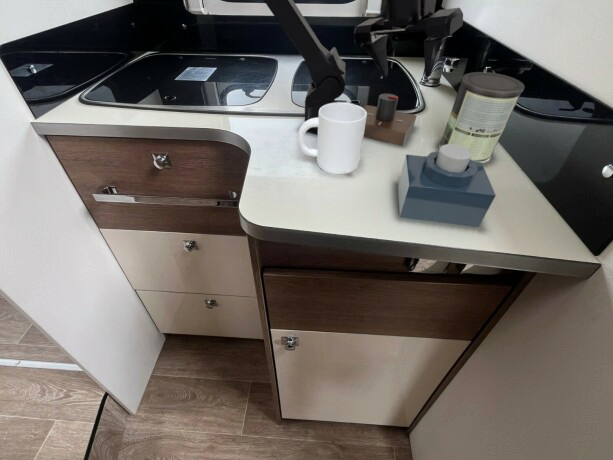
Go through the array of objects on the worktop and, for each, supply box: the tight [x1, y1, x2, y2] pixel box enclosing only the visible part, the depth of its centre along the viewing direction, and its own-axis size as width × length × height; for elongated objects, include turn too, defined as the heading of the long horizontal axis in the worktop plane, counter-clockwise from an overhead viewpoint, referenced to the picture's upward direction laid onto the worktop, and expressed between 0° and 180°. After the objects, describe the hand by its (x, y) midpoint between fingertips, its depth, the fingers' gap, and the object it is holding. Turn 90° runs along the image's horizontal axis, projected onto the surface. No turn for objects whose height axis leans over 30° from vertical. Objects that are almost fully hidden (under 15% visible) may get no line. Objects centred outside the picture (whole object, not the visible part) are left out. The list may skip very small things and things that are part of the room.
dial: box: [376, 93, 399, 122], centre depth 68 cm, size 4×4×5 cm
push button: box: [436, 144, 472, 173], centre depth 47 cm, size 4×4×2 cm
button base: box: [397, 150, 496, 228], centre depth 50 cm, size 12×9×8 cm
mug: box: [296, 102, 367, 175], centre depth 58 cm, size 12×8×10 cm
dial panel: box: [362, 104, 417, 147], centre depth 71 cm, size 12×10×3 cm
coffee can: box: [438, 71, 525, 165], centre depth 61 cm, size 10×10×14 cm
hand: (406, 76), depth 63 cm, fingers open, 9 cm apart
